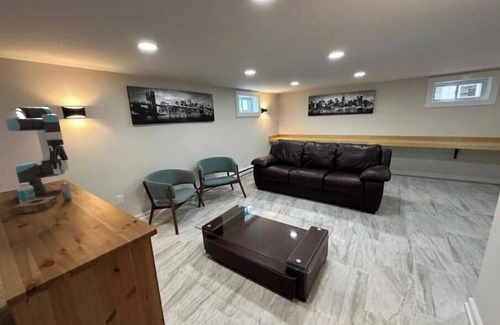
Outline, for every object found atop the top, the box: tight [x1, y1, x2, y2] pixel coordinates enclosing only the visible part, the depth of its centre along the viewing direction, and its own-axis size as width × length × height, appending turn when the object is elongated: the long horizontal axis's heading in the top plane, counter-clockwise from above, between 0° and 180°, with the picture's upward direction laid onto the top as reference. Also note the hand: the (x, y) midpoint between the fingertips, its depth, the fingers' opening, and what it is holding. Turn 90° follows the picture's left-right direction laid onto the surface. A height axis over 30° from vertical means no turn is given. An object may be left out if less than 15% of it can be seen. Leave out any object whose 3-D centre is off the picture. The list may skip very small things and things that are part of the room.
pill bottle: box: [16, 182, 37, 204], centre depth 135 cm, size 8×7×14 cm
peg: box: [60, 182, 72, 202], centre depth 137 cm, size 4×4×12 cm
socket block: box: [13, 195, 58, 215], centre depth 128 cm, size 14×14×4 cm
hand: (61, 171), depth 135 cm, fingers open, 13 cm apart
